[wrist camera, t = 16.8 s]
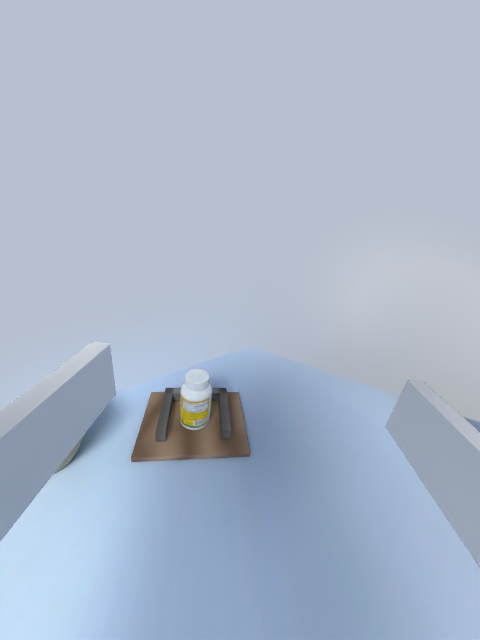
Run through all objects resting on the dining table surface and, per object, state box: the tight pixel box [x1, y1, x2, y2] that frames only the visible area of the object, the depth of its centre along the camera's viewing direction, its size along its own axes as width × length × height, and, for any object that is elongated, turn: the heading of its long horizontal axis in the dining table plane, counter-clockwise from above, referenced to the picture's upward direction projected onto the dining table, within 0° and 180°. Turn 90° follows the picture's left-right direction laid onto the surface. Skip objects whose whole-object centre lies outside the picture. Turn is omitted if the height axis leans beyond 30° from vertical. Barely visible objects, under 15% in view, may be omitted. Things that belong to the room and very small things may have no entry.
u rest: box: [131, 388, 250, 462], centre depth 42 cm, size 18×14×3 cm
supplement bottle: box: [180, 369, 212, 430], centre depth 40 cm, size 5×5×10 cm
